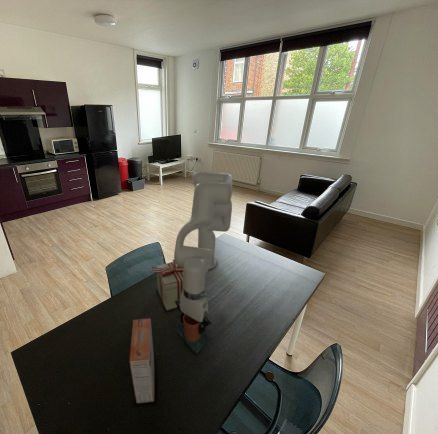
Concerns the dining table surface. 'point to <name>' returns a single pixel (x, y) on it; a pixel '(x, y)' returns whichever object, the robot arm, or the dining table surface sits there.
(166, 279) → the gift box
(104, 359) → the dining table surface
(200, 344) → the terrain model
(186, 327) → the cup
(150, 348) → the cracker box
